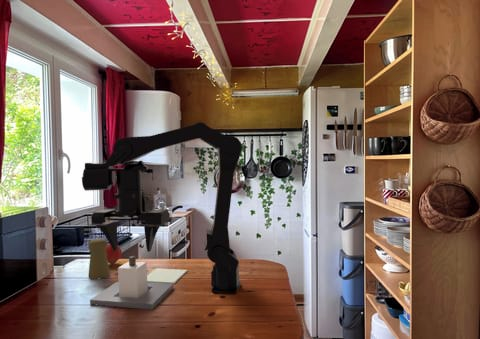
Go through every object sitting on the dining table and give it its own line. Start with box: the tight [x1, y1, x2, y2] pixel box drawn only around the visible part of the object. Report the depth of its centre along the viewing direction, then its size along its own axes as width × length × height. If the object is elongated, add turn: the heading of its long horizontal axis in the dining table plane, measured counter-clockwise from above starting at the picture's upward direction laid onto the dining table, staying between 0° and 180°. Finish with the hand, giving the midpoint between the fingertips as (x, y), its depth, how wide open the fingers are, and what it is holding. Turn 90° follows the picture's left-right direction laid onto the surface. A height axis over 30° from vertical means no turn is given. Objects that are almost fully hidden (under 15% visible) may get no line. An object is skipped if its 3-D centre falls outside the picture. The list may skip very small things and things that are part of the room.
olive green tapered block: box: [87, 237, 111, 280], centre depth 99 cm, size 6×6×11 cm
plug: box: [117, 255, 148, 298], centre depth 83 cm, size 5×5×10 cm
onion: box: [106, 242, 123, 265], centre depth 109 cm, size 6×6×8 cm
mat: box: [147, 268, 188, 285], centre depth 97 cm, size 10×10×1 cm
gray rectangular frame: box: [89, 281, 174, 310], centre depth 84 cm, size 16×12×1 cm
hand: (132, 250), depth 83 cm, fingers open, 9 cm apart
